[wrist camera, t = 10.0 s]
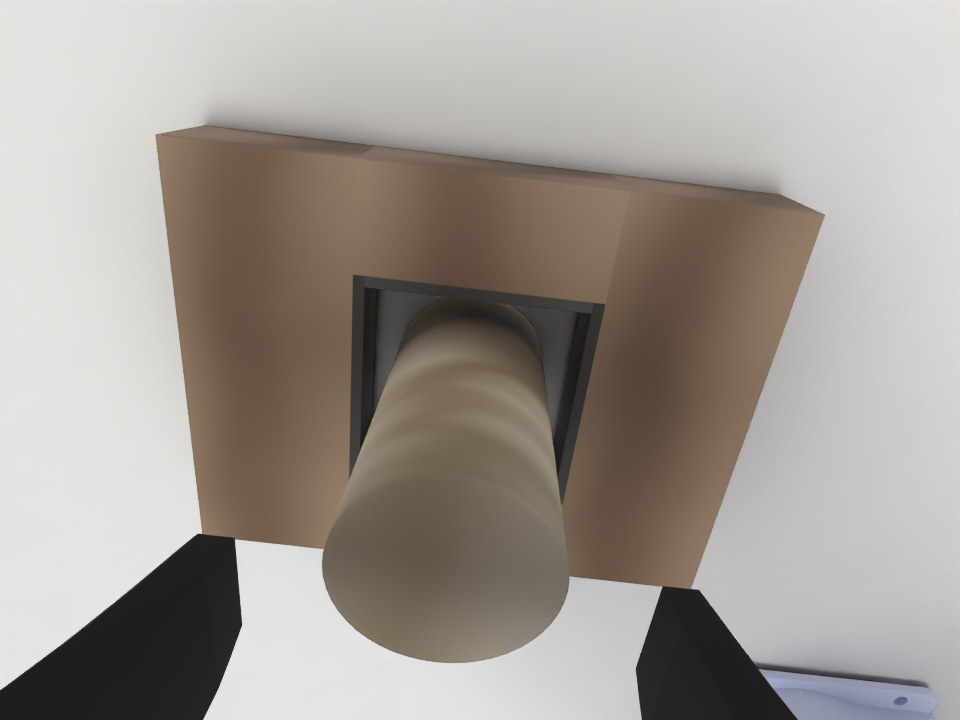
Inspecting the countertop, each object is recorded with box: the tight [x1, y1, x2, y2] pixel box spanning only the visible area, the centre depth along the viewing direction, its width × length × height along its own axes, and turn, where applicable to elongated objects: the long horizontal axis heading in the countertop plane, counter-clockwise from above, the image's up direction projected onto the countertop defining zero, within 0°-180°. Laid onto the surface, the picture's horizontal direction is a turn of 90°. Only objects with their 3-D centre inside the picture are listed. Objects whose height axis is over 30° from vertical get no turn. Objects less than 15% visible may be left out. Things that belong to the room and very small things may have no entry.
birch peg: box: [322, 297, 569, 663], centre depth 15 cm, size 4×4×9 cm
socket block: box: [156, 125, 825, 589], centre depth 18 cm, size 16×12×2 cm
